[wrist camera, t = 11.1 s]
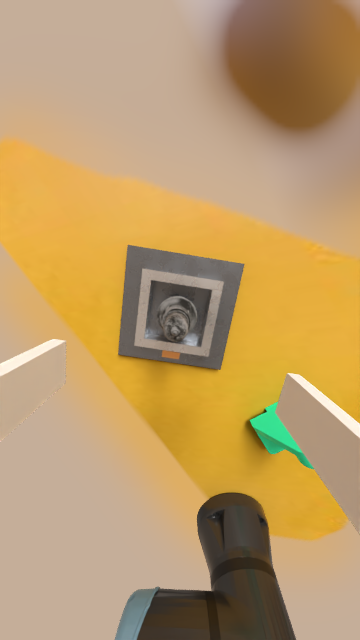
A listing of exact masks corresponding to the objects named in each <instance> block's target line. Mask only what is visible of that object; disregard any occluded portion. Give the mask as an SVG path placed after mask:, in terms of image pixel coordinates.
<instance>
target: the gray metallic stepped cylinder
mask: <svg viewBox="0 0 360 640" xmlns="http://www.w3.org/2000/svg"><path fill="white" fill-rule="evenodd" d="M157 321H158V324H159V326H160V327H161V329H162V330H163V332H164V335H165V336H166V338H167V339H169V340H171V341H174V342H177V341H181V340H182V339H184V338H185V337H186V335H187V333H188V332H190V331H191V330H192V329H193V328H194V326H195V324H196V322H197V311H196V308H195V306H194V305H193V303H192V302H191V301H189V300H188V299H186V298H184V297H182V296H173V297H170V298H168V299H166V300H165V301H163V302H162V303H161V305H160V306H159V308H158V311H157Z"/></svg>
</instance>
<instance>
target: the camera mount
mask: <svg viewBox="0 0 360 640" xmlns="http://www.w3.org/2000/svg"><path fill="white" fill-rule="evenodd" d="M277 404H278V402H276V403H274V404H272V405H270V406H268V407H266V408H265V409H266V411H267V412H265V413H263V414H261V415H259V416H257V417H255V418H253V419H251V420H250V422H251V424H252V426H253V428H254V430H255V431H256V433H257V434H258V436H259V438H260V439H261V441H262V442H263V444H264V446H265V447H266V449H267V450H268V452H269V453H271V454H276V453H278V452H280V451H282V450H285V449H286V450H288V451H289V452H291V453H293V454H295V455H296V456H297V458H298V460H299V461H300V462H301V463H302V464H303V465H304V466H306V467H308V468H311V469H314V468H313V467H312V465H311V464H310V462H309V461H308V459H307V458H306V456H305V455H304V454H303V452H302V451H301V449H300V448H299V446H298V445H297V444H296V442H295V441H294V439H293V438H292V436H291V435H290V433H289V432H288V431H287V429H286V428H285V426H284V425H283V423H282V422H281V420H280V419H279V418H278V416H277V415H276V413H275V411H276V408H277Z"/></svg>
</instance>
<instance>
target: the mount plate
mask: <svg viewBox="0 0 360 640" xmlns="http://www.w3.org/2000/svg"><path fill="white" fill-rule="evenodd" d="M243 268H244V264H241V263H235V262H228V261H222V260H216V259H210V258H204V257H198V256H192V255H186V254H180V253H174V252H168V251H162V250H156V249H149V248H143V247H137V246H131V245H128V249H127V260H126V272H125V283H124V295H123V306H122V318H121V329H120V341H119V352H118V354H119V355H125V356H132V357H139V358H146V359H152V360H159V361H166V362H172V363H179V364H186V365H193V366H199V367H206V368H213V369H219V370H220V369H221V365H222V360H223V356H224V352H225V347H226V343H227V338H228V334H229V329H230V325H231V321H232V316H233V312H234V307H235V303H236V299H237V294H238V290H239V285H240V281H241V276H242V272H243ZM173 296H182V297H184V298H186V299H188V300H189V301H191V302H192V303H193V305H194V306H195V308H196V311H197V322H196V324H195V326H194V328H193V329H192V330H191V331H190V332H188V333H187V335H186V337H185V338H184V339H182V340H181V341H177V342H174V341H171V340H169V339H167V338H166V336H165V335H164V332H163V330H162V329H161V327H160V326H159V324H158V321H157V311H158V308H159V306H160V305H161V303H162V302H163V301H165V300H166V299H168V298H170V297H173Z"/></svg>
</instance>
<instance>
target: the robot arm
mask: <svg viewBox="0 0 360 640" xmlns="http://www.w3.org/2000/svg"><path fill="white" fill-rule="evenodd" d="M65 379H66V341H64V340H57V339H52V340H50V341H47V342H45V343H43V344H41V345H39V346H37V347H35V348H33V349H31V350H28V351H26V352H24V353H22V354H20V355H18V356H16V357H13V358H12V359H9V360H7V361H5V362H3V363H1V364H0V442H1V441H2V440H3V439H4V438H5V437H7V436H8V435H9V434H10V433H11V432H12V431H13V430H14V429H15V428H16V427H18V426H19V425H20V424H21V423H22V422H23V421H24V420H25V419H26V418H28V417H29V416H30V415H31V414H32V413H33V412H34V411H35V410H36V409H37V408H39V407H40V406H41V405H42V404H43V403H44V402H45V401H46V400H47V399H49V398H50V397H51V396H52V395H53V394H54V393H55V392H56V391H57V390H58V389H60V388H61V387H62V386H63V385H64V384H65V382H66V380H65ZM275 413H276V415H277V416H278V418H279V419H280V420H281V422H282V423H283V425H284V426H285V428H286V429H287V431H288V432H289V433H290V435H291V436H292V438H293V439H294V441H295V442H296V444H297V445H298V446H299V448H300V449H301V451H302V452H303V454H304V455H305V456H306V458H307V459H308V461H309V462H310V464H311V465H312V467H313V468H314V469H315V471H316V472H317V474H318V475H319V477H320V478H321V480H322V481H323V482H324V484H325V485H326V487H327V488H328V490H329V491H330V493H331V494H332V495H333V497H334V498H335V500H336V501H337V503H338V504H339V505H340V507H341V508H342V510H343V511H344V513H345V514H346V516H347V517H348V518H349V520H350V521H351V523H352V524H353V526H354V527H355V529H356V530H357V531H358V533H359V534H360V424H359V423H358V422H357V421H355V420H354V419H353V418H352V417H351V416H349V415H348V414H347V413H346V412H344V411H343V410H342V409H341V408H340V407H338V406H337V405H336V404H335V403H333V402H332V401H331V400H330V399H329V398H327V397H326V396H325V395H324V394H322V393H321V392H320V391H319V390H318V389H316V388H315V387H314V386H313V385H311V384H310V383H309V382H308V381H307V380H305V379H304V378H303V377H302V376H300V375H297V374H291V373H287V375H286V378H285V382H284V385H283V388H282V391H281V395H280V398H279V401H278V404H277V408H276V411H275ZM197 526H198V535H199V539H200V542H201V545H202V549H203V552H204V555H205V558H206V562H207V565H208V568H209V572H210V578H211V589H212V591H199V590H173V589H160V587H156V588H155V589H141V590H137V591H135V592H134V593H133V594H132V595H131V596H130V598H129V599H128V601H127V604H126V606H125V608H124V611H123V614H122V617H121V620H120V623H119V627H118V630H117V634H116V637H115V640H296V638H295V635H294V631H293V628H292V625H291V622H290V619H289V616H288V613H287V610H286V606H285V604H284V600H283V597H282V594H281V591H280V588H279V585H278V582H277V579H276V575H275V572H274V569H273V565H272V556H271V546H270V536H269V527H268V522H267V519H266V516H265V513H264V511H263V508H262V506H261V505H260V504H259V503H258V502H257V501H256V500H255V499H253V498H251V497H249V496H247V495H244V494H239V493H226V494H221V495H217V496H215V497H213V498H211V499H209V500H208V501H206V502H205V503H204V504H203V505H202V507H201V508H200V509H199V512H198V515H197Z"/></svg>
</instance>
